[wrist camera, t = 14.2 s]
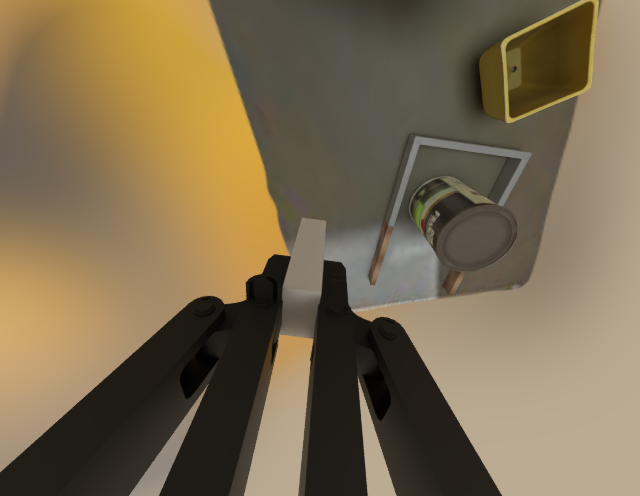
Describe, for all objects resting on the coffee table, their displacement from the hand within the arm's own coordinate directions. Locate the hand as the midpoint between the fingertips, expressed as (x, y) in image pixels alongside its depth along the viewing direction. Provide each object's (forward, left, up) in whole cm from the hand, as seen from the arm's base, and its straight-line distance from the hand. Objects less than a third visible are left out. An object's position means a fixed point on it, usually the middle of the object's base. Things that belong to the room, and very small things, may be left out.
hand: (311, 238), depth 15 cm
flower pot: (-14, +23, -30) cm, 40 cm away
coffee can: (+6, +22, -30) cm, 37 cm away
